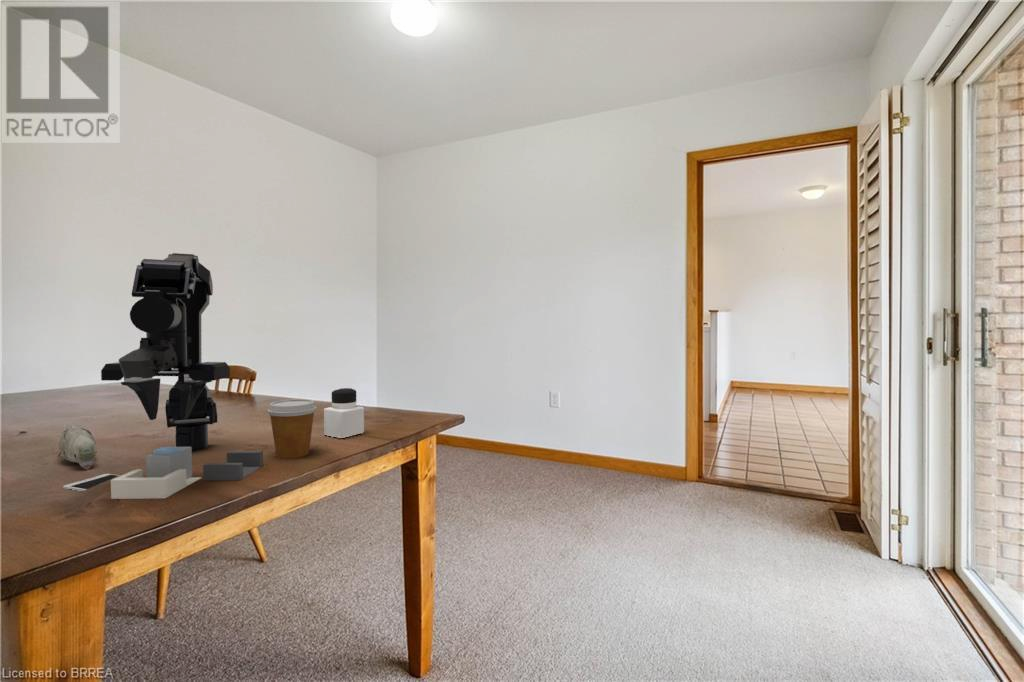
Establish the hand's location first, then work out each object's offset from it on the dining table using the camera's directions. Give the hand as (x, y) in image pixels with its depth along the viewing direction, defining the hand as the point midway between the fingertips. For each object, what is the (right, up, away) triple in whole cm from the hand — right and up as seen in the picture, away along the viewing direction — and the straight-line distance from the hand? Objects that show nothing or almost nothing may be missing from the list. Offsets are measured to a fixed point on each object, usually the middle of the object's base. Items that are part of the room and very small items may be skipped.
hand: (168, 419), depth 84 cm
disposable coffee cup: (+14, -12, +19) cm, 26 cm away
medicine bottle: (+17, -11, +39) cm, 44 cm away
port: (0, -12, -2) cm, 12 cm away
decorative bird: (-29, -11, +14) cm, 34 cm away
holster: (+8, -12, +6) cm, 16 cm away
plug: (0, -11, +1) cm, 11 cm away
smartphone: (-10, -13, 0) cm, 16 cm away
